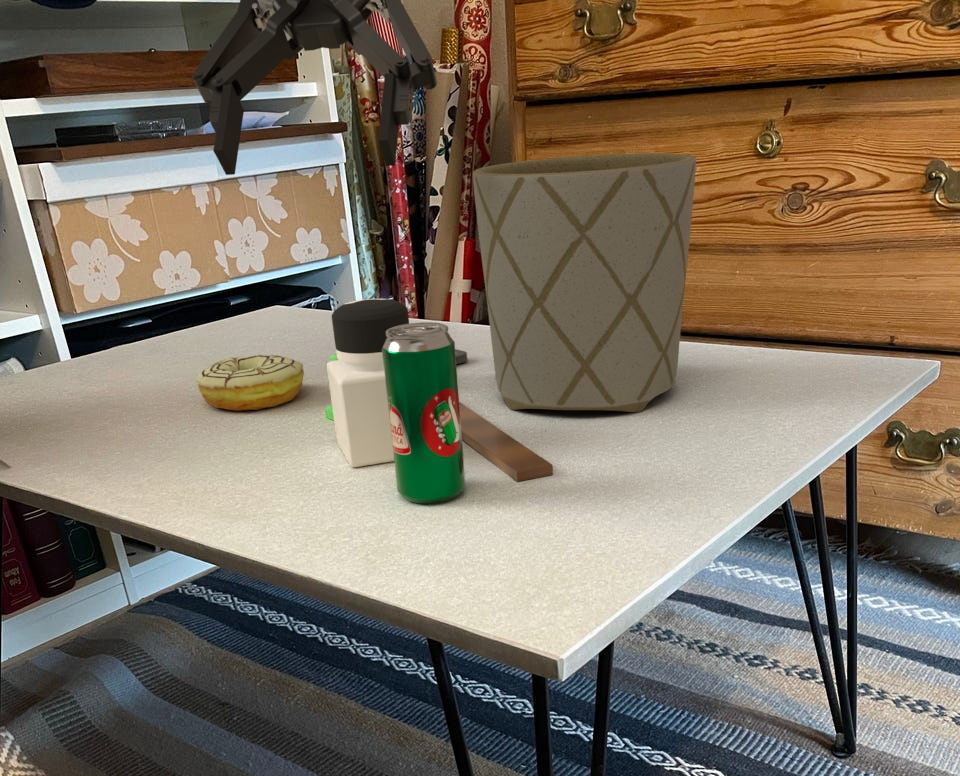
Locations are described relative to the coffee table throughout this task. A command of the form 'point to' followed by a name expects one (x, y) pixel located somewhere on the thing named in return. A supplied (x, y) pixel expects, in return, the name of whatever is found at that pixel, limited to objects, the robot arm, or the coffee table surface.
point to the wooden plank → (501, 448)
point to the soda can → (424, 411)
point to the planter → (585, 276)
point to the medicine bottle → (362, 379)
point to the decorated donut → (251, 382)
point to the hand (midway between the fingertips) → (304, 158)
